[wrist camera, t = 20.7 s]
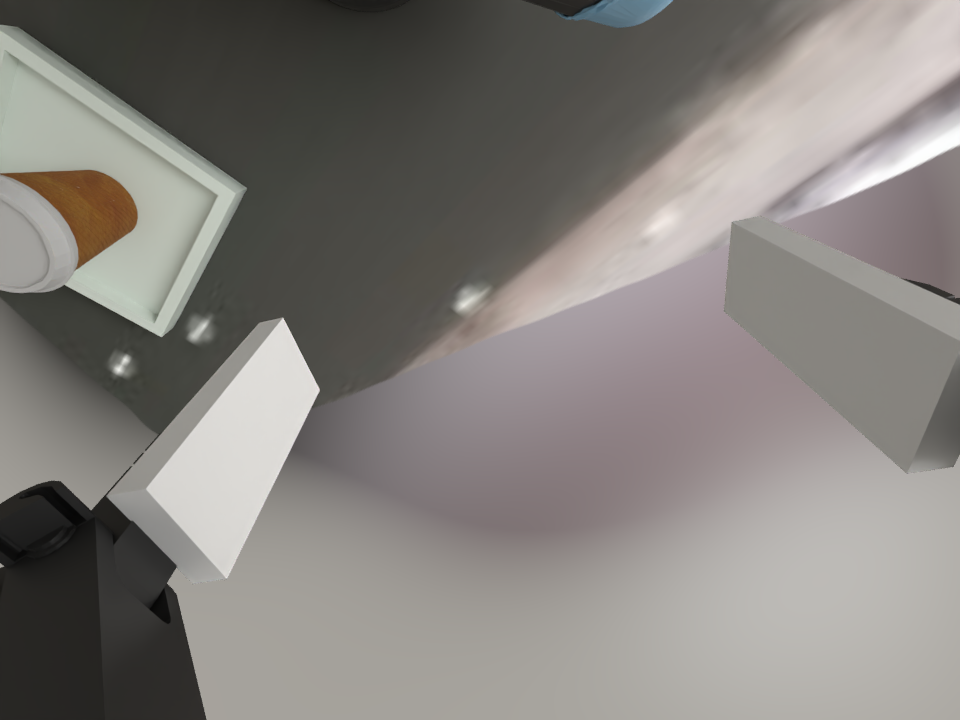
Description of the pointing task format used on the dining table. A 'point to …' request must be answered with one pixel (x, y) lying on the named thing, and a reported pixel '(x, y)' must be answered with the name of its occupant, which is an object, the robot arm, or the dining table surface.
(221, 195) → the tray
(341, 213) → the dining table surface
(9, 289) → the disposable coffee cup
